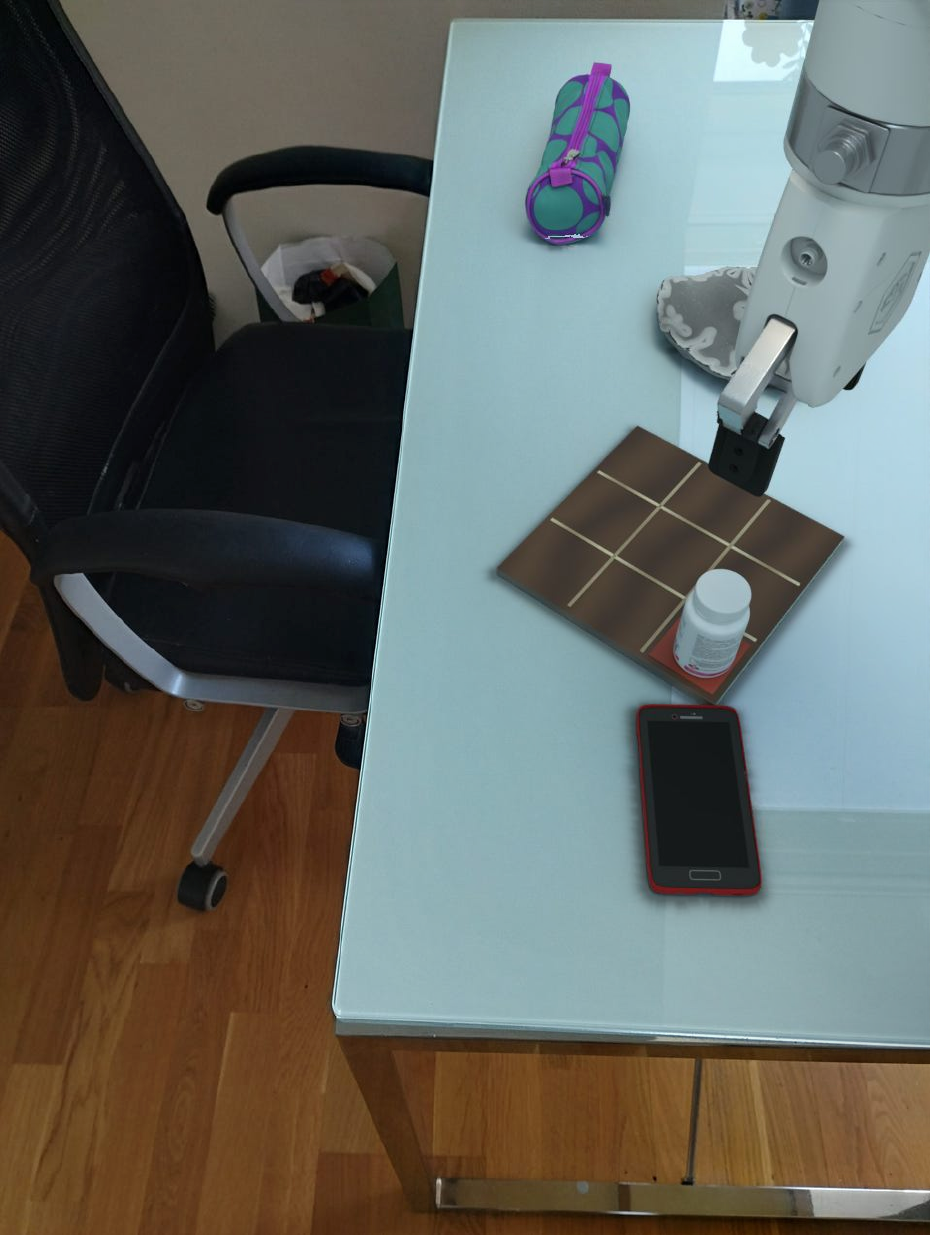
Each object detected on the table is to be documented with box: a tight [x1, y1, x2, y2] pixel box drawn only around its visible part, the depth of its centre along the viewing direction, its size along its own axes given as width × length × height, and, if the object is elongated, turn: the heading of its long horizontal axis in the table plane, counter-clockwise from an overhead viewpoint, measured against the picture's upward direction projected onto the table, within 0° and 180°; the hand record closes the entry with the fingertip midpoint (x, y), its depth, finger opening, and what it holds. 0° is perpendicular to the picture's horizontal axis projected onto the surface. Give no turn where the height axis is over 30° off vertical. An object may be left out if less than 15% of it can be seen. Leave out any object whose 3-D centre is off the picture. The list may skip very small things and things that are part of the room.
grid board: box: [496, 425, 845, 705], centre depth 89 cm, size 21×21×1 cm
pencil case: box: [524, 61, 631, 246], centre depth 115 cm, size 21×9×10 cm, turn 168°
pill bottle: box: [673, 569, 751, 678], centre depth 79 cm, size 5×5×8 cm
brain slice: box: [656, 266, 791, 388], centre depth 103 cm, size 20×17×3 cm
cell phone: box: [635, 703, 763, 897], centre depth 76 cm, size 8×15×1 cm, turn 179°
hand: (783, 427), depth 56 cm, fingers open, 9 cm apart
